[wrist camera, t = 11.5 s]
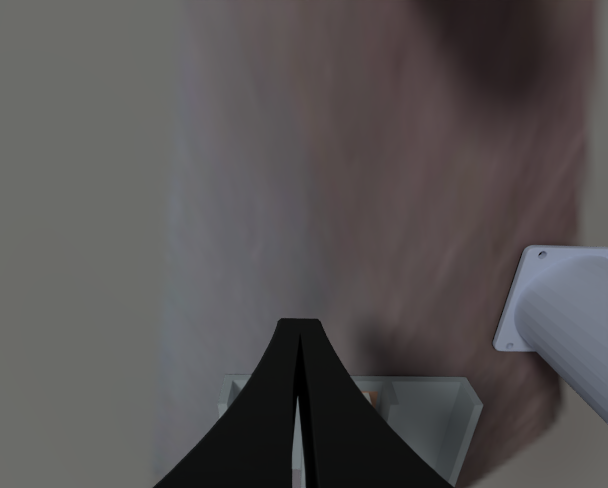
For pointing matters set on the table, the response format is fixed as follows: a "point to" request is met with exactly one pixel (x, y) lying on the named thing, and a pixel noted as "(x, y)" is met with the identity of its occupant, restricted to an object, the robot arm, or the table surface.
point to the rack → (405, 416)
